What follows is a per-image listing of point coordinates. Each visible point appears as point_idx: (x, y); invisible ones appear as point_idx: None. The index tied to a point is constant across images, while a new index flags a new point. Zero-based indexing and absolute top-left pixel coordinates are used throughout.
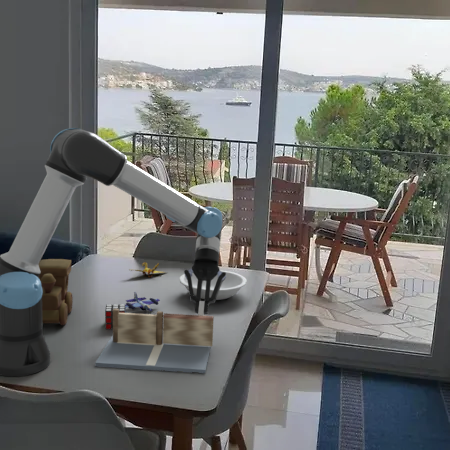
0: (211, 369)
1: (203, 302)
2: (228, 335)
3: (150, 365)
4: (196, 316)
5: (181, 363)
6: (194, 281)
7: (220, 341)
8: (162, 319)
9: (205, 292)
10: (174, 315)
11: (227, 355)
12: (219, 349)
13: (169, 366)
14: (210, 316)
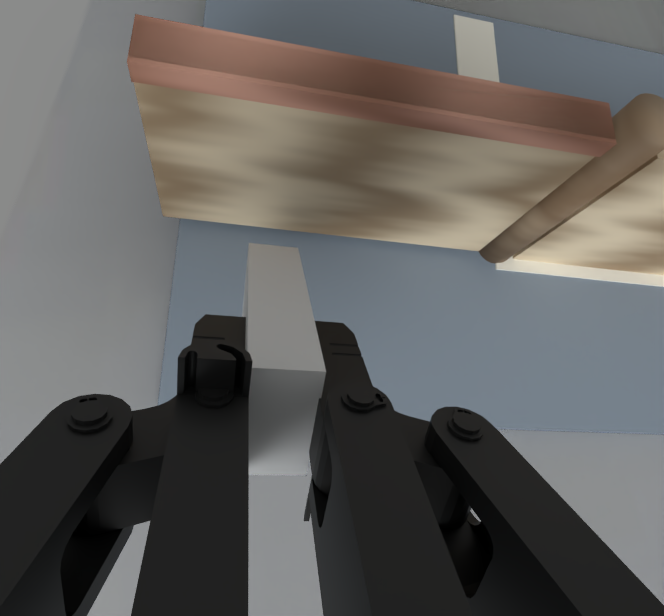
0: (178, 8)
1: (261, 356)
2: None
3: (472, 19)
4: (317, 63)
5: (336, 25)
6: None
7: (97, 373)
8: None
9: (243, 502)
10: (520, 93)
11: (67, 156)
12: (116, 239)
13: (388, 4)
14: (164, 59)
